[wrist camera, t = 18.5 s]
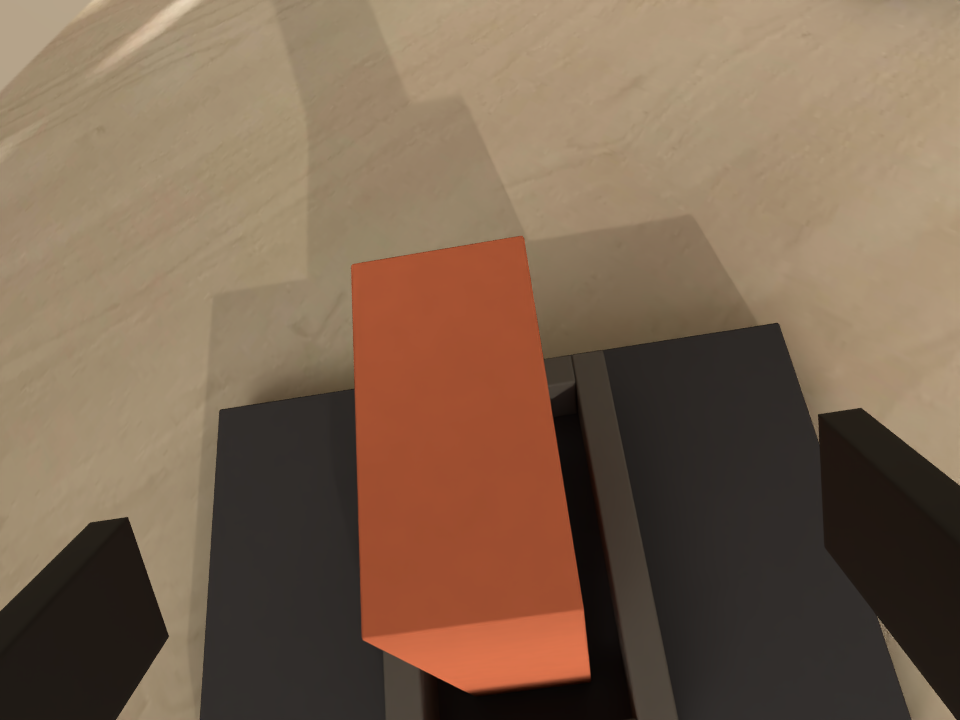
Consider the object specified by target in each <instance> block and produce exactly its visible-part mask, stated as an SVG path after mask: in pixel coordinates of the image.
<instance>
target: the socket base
mask: <svg viewBox="0 0 960 720" xmlns="http://www.w3.org/2000/svg"><path fill="white" fill-rule="evenodd" d="M544 365H545V372H546V378H547V384H548V390H549V396H550V403H551V409H552V415H553V421H554V427H555V434H556V440H557V446H558V452H559V458H560V464H561V471H562V477H563V483H564V489H565V495H566V502H567V508H568V514H569V520H570V526H571V533H572V539H573V545H574V551H575V557H576V564H577V570H578V576H579V582H580V588H581V595H582V601H583V607H584V616H585V625H586V635H587V644H588V654H589V664H590V673H591V682H590V683H582V684H574V685H566V686H558V687H550V688H542V689H534V690H526V691H518V692H509V693H501V694H493V695H485V696H477V697H475V696H473V695H471V694H469V693H467V692H465V691H463V690H461V689H459V688H457V687H455V686H453V685H451V684H449V683H447V682H445V681H443V680H441V679H439V678H437V677H435V676H433V675H431V674H429V673H427V672H425V671H423V670H421V669H419V668H417V667H415V666H413V665H411V664H409V663H407V662H405V661H403V660H401V659H399V658H397V657H395V656H393V655H391V654H389V653H387V652H385V651H384V650H382V649H380V648H378V647H376V646H374V645H372V644H370V643H368V642H366V641H364V640H363V639H362V629H361V594H360V559H359V524H358V489H357V454H356V418H355V389H350V390H343V391H337V392H330V393H324V394H318V395H311V396H305V397H298V398H292V399H285V400H279V401H273V402H266V403H260V404H253V405H247V406H241V407H234V408H228V409H221V410H220V411H219V426H218V442H217V457H216V473H215V489H214V505H213V520H212V536H211V552H210V568H209V583H208V599H207V615H206V630H205V646H204V662H203V678H202V693H201V709H200V720H911V717H910V714H909V711H908V708H907V705H906V702H905V699H904V696H903V693H902V690H901V687H900V684H899V681H898V678H897V675H896V672H895V669H894V666H893V663H892V660H891V657H890V654H889V651H888V648H887V645H886V642H885V639H884V636H883V633H882V630H881V627H880V624H879V621H878V618H877V615H876V614H875V613H874V611H873V610H872V609H871V607H870V606H869V605H868V603H867V602H866V601H865V599H864V598H863V597H862V596H861V594H860V593H859V592H858V590H857V589H856V588H855V586H854V585H853V584H852V583H851V581H850V580H849V579H848V577H847V576H846V575H845V573H844V572H843V571H842V569H841V568H840V567H839V566H838V564H837V563H836V562H835V560H834V559H833V558H832V556H831V555H830V554H829V553H828V551H827V550H826V549H825V547H824V529H823V508H822V486H821V465H820V445H819V442H818V439H817V436H816V433H815V430H814V427H813V424H812V421H811V418H810V415H809V412H808V409H807V406H806V403H805V400H804V397H803V394H802V391H801V388H800V385H799V382H798V379H797V376H796V373H795V370H794V367H793V364H792V361H791V358H790V355H789V352H788V349H787V346H786V343H785V340H784V337H783V334H782V331H781V328H780V325H779V324H778V323H774V324H767V325H761V326H754V327H748V328H742V329H735V330H729V331H722V332H716V333H709V334H703V335H697V336H690V337H684V338H677V339H671V340H664V341H658V342H652V343H645V344H639V345H632V346H626V347H619V348H613V349H607V350H599V351H592V352H586V353H579V354H573V355H567V356H561V357H554V358H548V359H544Z"/></svg>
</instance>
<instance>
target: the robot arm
mask: <svg viewBox="0 0 960 720" xmlns="http://www.w3.org/2000/svg"><path fill="white" fill-rule="evenodd" d="M818 422H819V443H820V465H821V486H822V508H823V529H824V547H825V549H826V550H827V551H828V553H829V554H830V555H831V556H832V558H833V559H834V560H835V562H836V563H837V564H838V566H839V567H840V568H841V569H842V571H843V572H844V573H845V575H846V576H847V577H848V579H849V580H850V581H851V583H852V584H853V585H854V586H855V588H856V589H857V590H858V592H859V593H860V594H861V596H862V597H863V598H864V599H865V601H866V602H867V603H868V605H869V606H870V607H871V609H872V610H873V611H874V613H875V614H876V615H877V616H878V618H879V619H880V620H881V622H882V623H883V624H884V626H885V627H886V628H887V629H888V631H889V632H890V633H891V635H892V636H893V637H894V639H895V640H896V641H897V643H898V644H899V645H900V646H901V648H902V649H903V650H904V652H905V653H906V654H907V656H908V657H909V658H910V659H911V661H912V662H913V663H914V665H915V666H916V667H917V669H918V670H919V671H920V673H921V674H922V675H923V676H924V678H925V679H926V680H927V682H928V683H929V684H930V686H931V687H932V688H933V689H934V691H935V692H936V693H937V695H938V696H939V697H940V699H941V700H942V701H943V703H944V704H945V705H946V706H947V708H948V709H949V710H950V712H951V713H952V714H953V716H954V717H955V718H956V719H957V720H960V485H958V484H957V483H956V482H954V481H953V480H952V479H951V478H949V477H948V476H947V475H946V474H944V473H943V472H942V471H941V470H939V469H938V468H937V467H935V466H934V465H933V464H932V463H930V462H929V461H928V460H927V459H925V458H924V457H923V456H921V455H920V454H919V453H918V452H916V451H915V450H914V449H913V448H911V447H910V446H909V445H908V444H906V443H905V442H904V441H902V440H901V439H900V438H899V437H897V436H896V435H895V434H894V433H892V432H891V431H890V430H889V429H887V428H886V427H885V426H883V425H882V424H881V423H880V422H878V421H877V420H876V419H875V418H873V417H872V416H871V415H870V414H868V413H867V412H866V411H864V410H863V409H862V408H858V409H851V410H845V411H838V412H831V413H824V414H818ZM168 637H169V635H168V632H167V629H166V627H165V624H164V621H163V618H162V615H161V612H160V609H159V606H158V603H157V600H156V597H155V594H154V592H153V589H152V586H151V583H150V580H149V577H148V574H147V571H146V568H145V565H144V562H143V560H142V557H141V554H140V551H139V548H138V545H137V542H136V539H135V536H134V533H133V530H132V527H131V525H130V522H129V519H128V517H125V518H118V519H112V520H105V521H98V522H91V523H90V524H88V525H87V526H86V527H85V528H84V529H83V530H82V531H81V532H80V533H79V534H78V535H77V536H76V537H75V538H74V539H73V540H72V541H71V542H70V543H69V544H68V545H67V546H66V547H65V548H64V549H63V550H62V551H61V552H60V553H59V554H58V555H57V556H56V557H55V558H54V559H53V560H52V561H51V562H50V563H49V564H48V565H47V566H46V567H45V568H44V569H43V570H42V571H41V572H40V573H39V574H38V575H37V576H36V577H35V578H34V579H33V580H32V581H31V582H30V583H29V584H28V585H27V586H26V587H25V588H24V589H23V590H22V591H21V592H20V593H19V594H17V595H16V596H15V597H14V598H13V599H12V600H11V601H10V602H9V603H8V604H7V605H6V606H5V607H4V608H3V609H2V610H1V611H0V720H116V719H117V717H118V716H119V714H120V713H121V711H122V709H123V708H124V706H125V705H126V703H127V702H128V700H129V698H130V697H131V695H132V694H133V692H134V691H135V689H136V687H137V686H138V684H139V683H140V681H141V680H142V678H143V676H144V675H145V673H146V672H147V670H148V669H149V667H150V666H151V664H152V662H153V661H154V659H155V658H156V656H157V655H158V653H159V651H160V650H161V648H162V647H163V645H164V644H165V642H166V640H167V639H168Z"/></svg>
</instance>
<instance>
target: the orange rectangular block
mask: <svg viewBox="0 0 960 720" xmlns="http://www.w3.org/2000/svg"><path fill="white" fill-rule="evenodd" d="M351 278H352V313H353V348H354V383H355V418H356V454H357V489H358V524H359V559H360V594H361V629H362V639H363V640H364V641H366V642H368V643H370V644H372V645H374V646H376V647H378V648H380V649H382V650H384V651H385V652H387V653H389V654H391V655H393V656H395V657H397V658H399V659H401V660H403V661H405V662H407V663H409V664H411V665H413V666H415V667H417V668H419V669H421V670H423V671H425V672H427V673H429V674H431V675H433V676H435V677H437V678H439V679H441V680H443V681H445V682H447V683H449V684H451V685H453V686H455V687H457V688H459V689H461V690H463V691H465V692H467V693H469V694H471V695H473V696H475V697H477V696H485V695H493V694H501V693H509V692H518V691H526V690H534V689H542V688H550V687H558V686H566V685H574V684H582V683H590V682H591V673H590V664H589V654H588V644H587V635H586V625H585V616H584V607H583V601H582V595H581V588H580V582H579V576H578V570H577V564H576V557H575V551H574V545H573V539H572V533H571V526H570V520H569V514H568V508H567V502H566V495H565V489H564V483H563V477H562V471H561V464H560V458H559V452H558V446H557V440H556V434H555V427H554V421H553V415H552V409H551V403H550V396H549V390H548V384H547V378H546V372H545V365H544V359H543V353H542V347H541V341H540V334H539V328H538V322H537V316H536V310H535V303H534V297H533V291H532V285H531V279H530V272H529V266H528V260H527V254H526V248H525V241H524V238H523V236H517V237H511V238H505V239H499V240H493V241H487V242H481V243H476V244H470V245H464V246H458V247H452V248H446V249H440V250H434V251H428V252H422V253H416V254H410V255H404V256H398V257H392V258H386V259H380V260H374V261H368V262H362V263H356V264H352V266H351Z"/></svg>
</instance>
